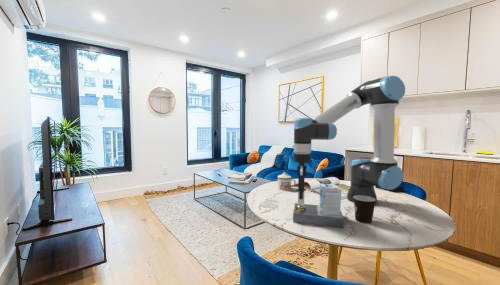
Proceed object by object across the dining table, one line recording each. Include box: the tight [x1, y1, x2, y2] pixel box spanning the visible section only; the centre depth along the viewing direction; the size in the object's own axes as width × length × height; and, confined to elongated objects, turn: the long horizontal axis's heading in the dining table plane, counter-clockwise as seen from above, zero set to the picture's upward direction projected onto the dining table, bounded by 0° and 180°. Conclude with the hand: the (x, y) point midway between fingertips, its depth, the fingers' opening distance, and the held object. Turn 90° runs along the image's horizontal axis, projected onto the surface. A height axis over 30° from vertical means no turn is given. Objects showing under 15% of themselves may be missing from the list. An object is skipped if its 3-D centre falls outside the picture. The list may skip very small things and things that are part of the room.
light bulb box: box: [318, 183, 342, 215], centre depth 99 cm, size 11×7×11 cm, turn 175°
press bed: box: [292, 202, 345, 229], centre depth 100 cm, size 20×14×4 cm
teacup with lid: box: [277, 172, 297, 191], centre depth 147 cm, size 12×9×12 cm
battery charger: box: [374, 184, 405, 194], centre depth 150 cm, size 13×10×4 cm
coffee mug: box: [353, 195, 376, 225], centre depth 100 cm, size 12×9×10 cm
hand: (300, 205), depth 102 cm, fingers closed
